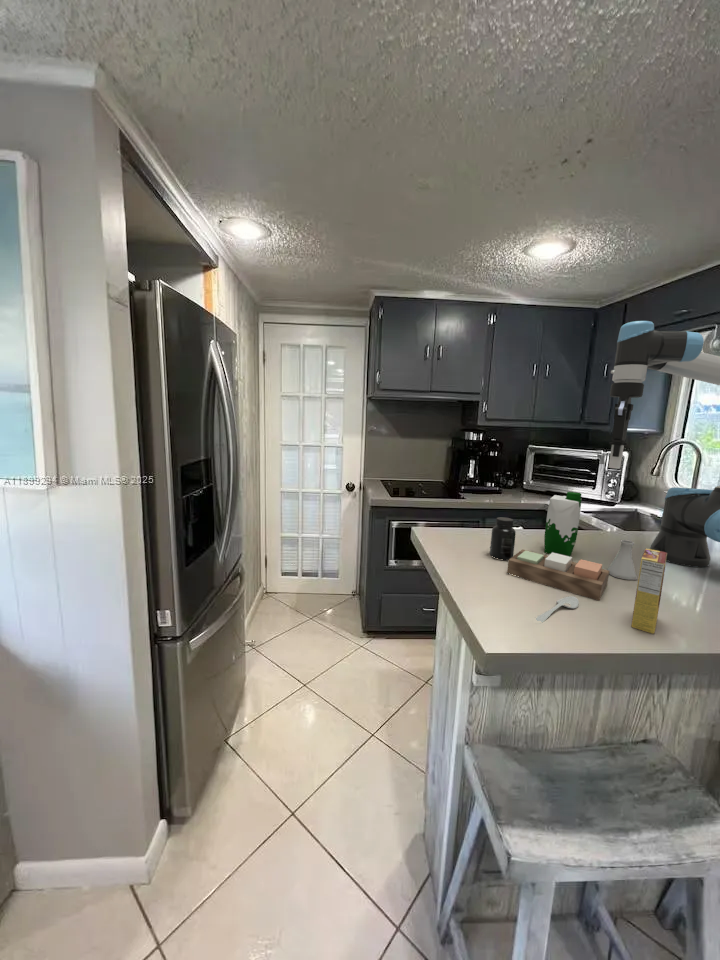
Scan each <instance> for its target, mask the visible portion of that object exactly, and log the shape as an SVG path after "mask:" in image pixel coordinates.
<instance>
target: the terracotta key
mask: <svg viewBox="0 0 720 960" xmlns="http://www.w3.org/2000/svg"><path fill="white" fill-rule="evenodd" d="M576 563H577V564H576V566H575V569H574V575H578V576H582V577H586V578H589V579H593V580H597V581H598V579H599V577H600V576H601V570H602V569H603V563H598V562H594V561H589V560H585V559H579V560H578V562H576Z"/></svg>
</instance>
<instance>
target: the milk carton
mask: <svg viewBox="0 0 720 960" xmlns="http://www.w3.org/2000/svg"><path fill="white" fill-rule="evenodd" d="M581 507H582V493H581V492H577V491H567V492H566V495H557V494H554V495H553V496H552V497H550V498H549V502H548V507H547V514H546V519H545V520H546V522H545V529H544V530H545V531H544V536H543V537H544V538H543V539H544V540H543V541H544V542H543V543H544V548H543V549H544V554H548V555H550V554H551V553H552V552H553V553H557V554H561V555H565V556H569V557H571V555H572V554H573V552H574V548H575V545H576V542H577V539H578V532H579V531H578V530H579V524H580V517H581V510H582V509H581Z"/></svg>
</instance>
